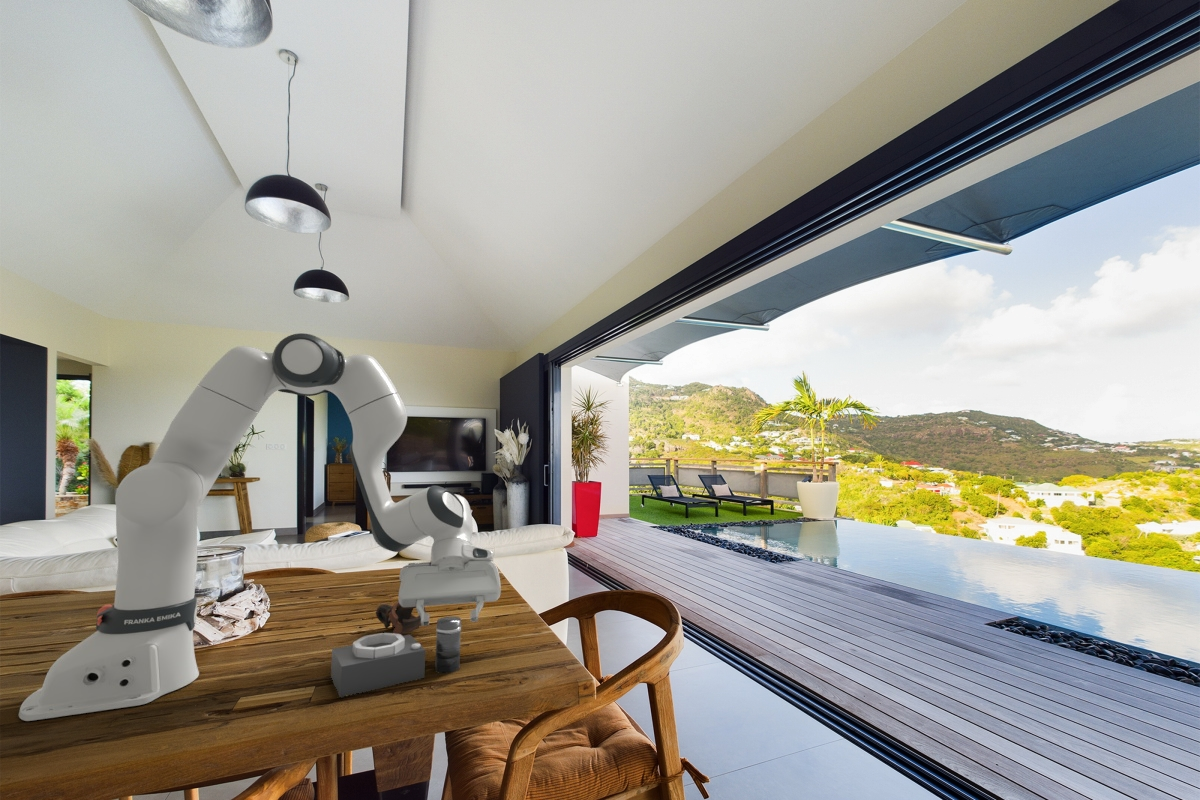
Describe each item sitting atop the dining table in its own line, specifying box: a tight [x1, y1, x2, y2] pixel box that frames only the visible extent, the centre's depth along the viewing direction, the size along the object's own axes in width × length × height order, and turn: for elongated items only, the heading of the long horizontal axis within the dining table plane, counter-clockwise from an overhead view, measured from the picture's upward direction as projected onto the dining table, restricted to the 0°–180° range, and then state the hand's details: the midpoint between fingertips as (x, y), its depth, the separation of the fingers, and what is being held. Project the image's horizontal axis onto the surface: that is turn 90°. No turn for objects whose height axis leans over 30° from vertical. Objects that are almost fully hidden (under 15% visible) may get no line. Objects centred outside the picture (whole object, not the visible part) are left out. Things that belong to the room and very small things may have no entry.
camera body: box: [330, 632, 426, 698], centre depth 98 cm, size 14×10×6 cm
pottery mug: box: [375, 600, 426, 635], centre depth 123 cm, size 12×10×8 cm
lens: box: [435, 616, 462, 674], centre depth 102 cm, size 5×5×9 cm
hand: (449, 622), depth 105 cm, fingers open, 8 cm apart
